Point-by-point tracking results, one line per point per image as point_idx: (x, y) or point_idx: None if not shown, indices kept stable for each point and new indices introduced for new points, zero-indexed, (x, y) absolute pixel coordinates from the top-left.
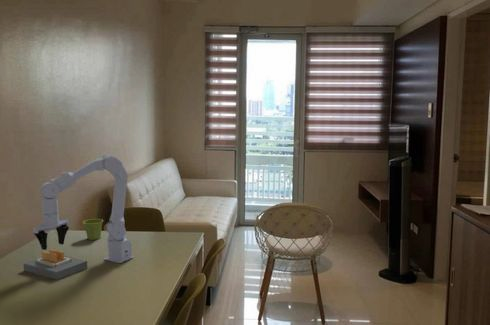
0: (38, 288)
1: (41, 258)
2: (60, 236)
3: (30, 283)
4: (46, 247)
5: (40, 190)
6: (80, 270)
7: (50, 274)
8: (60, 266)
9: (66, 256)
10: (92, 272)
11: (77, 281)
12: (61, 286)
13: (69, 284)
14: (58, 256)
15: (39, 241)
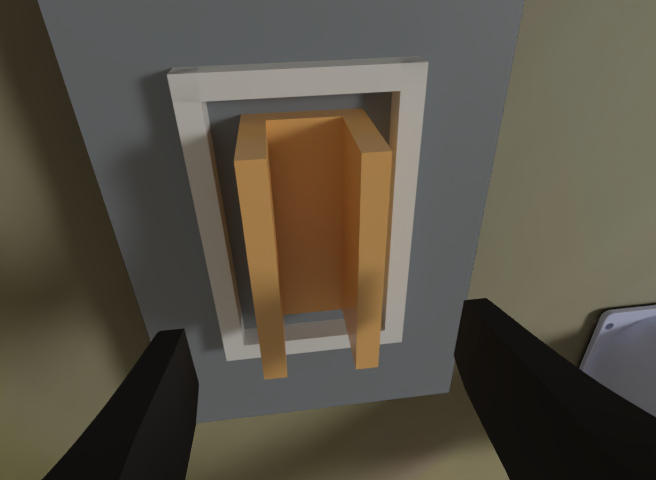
0: (40, 405)
1: (244, 90)
2: (522, 434)
3: (18, 310)
4: (190, 417)
5: None
6: None
7: None
8: None
9: (478, 188)
10: (389, 413)
11: (255, 452)
12: None
13: (203, 457)
14: (347, 283)
15: (79, 453)
